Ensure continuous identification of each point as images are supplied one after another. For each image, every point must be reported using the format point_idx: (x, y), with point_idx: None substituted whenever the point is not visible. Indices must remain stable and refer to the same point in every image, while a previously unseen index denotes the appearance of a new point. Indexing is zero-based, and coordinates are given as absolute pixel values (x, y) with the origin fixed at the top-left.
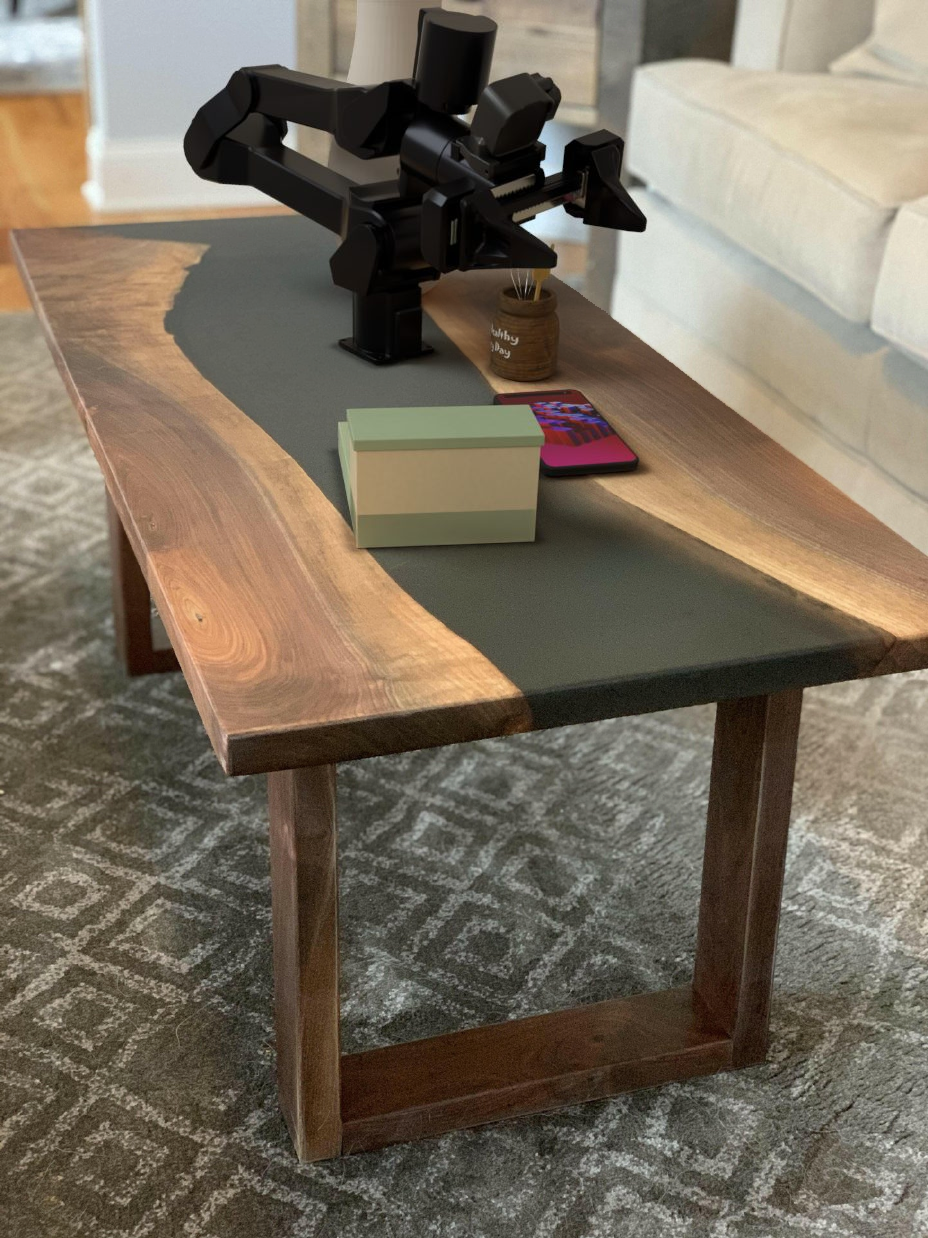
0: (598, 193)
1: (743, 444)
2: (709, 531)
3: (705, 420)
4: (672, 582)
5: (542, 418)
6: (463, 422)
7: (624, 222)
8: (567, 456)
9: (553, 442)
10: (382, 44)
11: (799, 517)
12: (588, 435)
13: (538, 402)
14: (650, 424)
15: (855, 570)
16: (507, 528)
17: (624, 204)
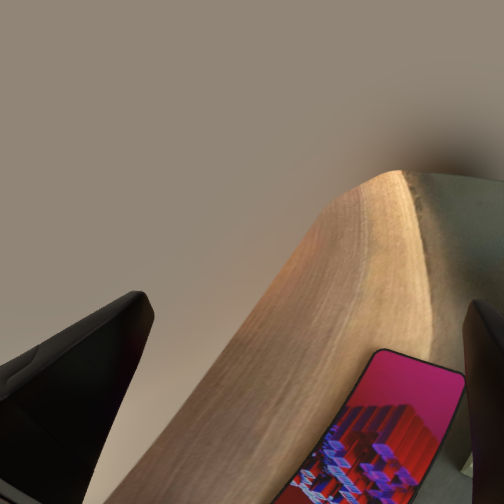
0: (30, 436)
1: (250, 344)
2: (409, 256)
3: (220, 397)
4: (471, 224)
5: (376, 486)
6: None
7: (125, 360)
8: (434, 388)
9: (420, 425)
10: None
11: (339, 248)
12: (373, 419)
13: None
14: (266, 426)
15: (368, 202)
16: None
17: (95, 333)
